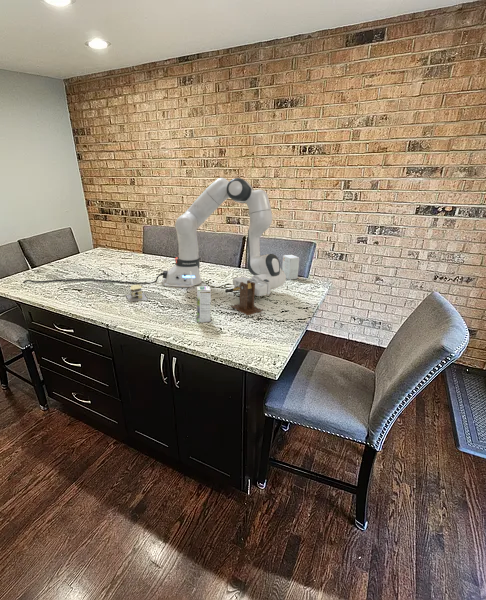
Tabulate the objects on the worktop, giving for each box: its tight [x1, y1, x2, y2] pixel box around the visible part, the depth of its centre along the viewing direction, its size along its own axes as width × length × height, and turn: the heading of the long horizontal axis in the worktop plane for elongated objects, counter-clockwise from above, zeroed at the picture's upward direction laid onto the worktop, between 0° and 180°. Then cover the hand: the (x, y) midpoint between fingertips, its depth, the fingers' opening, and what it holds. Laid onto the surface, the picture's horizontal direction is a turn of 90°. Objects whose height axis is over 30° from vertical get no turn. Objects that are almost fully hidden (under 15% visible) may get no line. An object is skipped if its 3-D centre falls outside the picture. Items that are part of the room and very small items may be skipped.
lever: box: [224, 283, 252, 294], centre depth 155 cm, size 13×9×2 cm
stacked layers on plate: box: [126, 284, 148, 303], centre depth 171 cm, size 10×9×6 cm
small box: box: [281, 254, 300, 281], centre depth 200 cm, size 8×6×13 cm
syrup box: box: [196, 285, 212, 323], centre depth 144 cm, size 6×6×14 cm
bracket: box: [230, 280, 263, 316], centre depth 152 cm, size 12×9×14 cm
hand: (236, 288), depth 161 cm, fingers closed on lever
